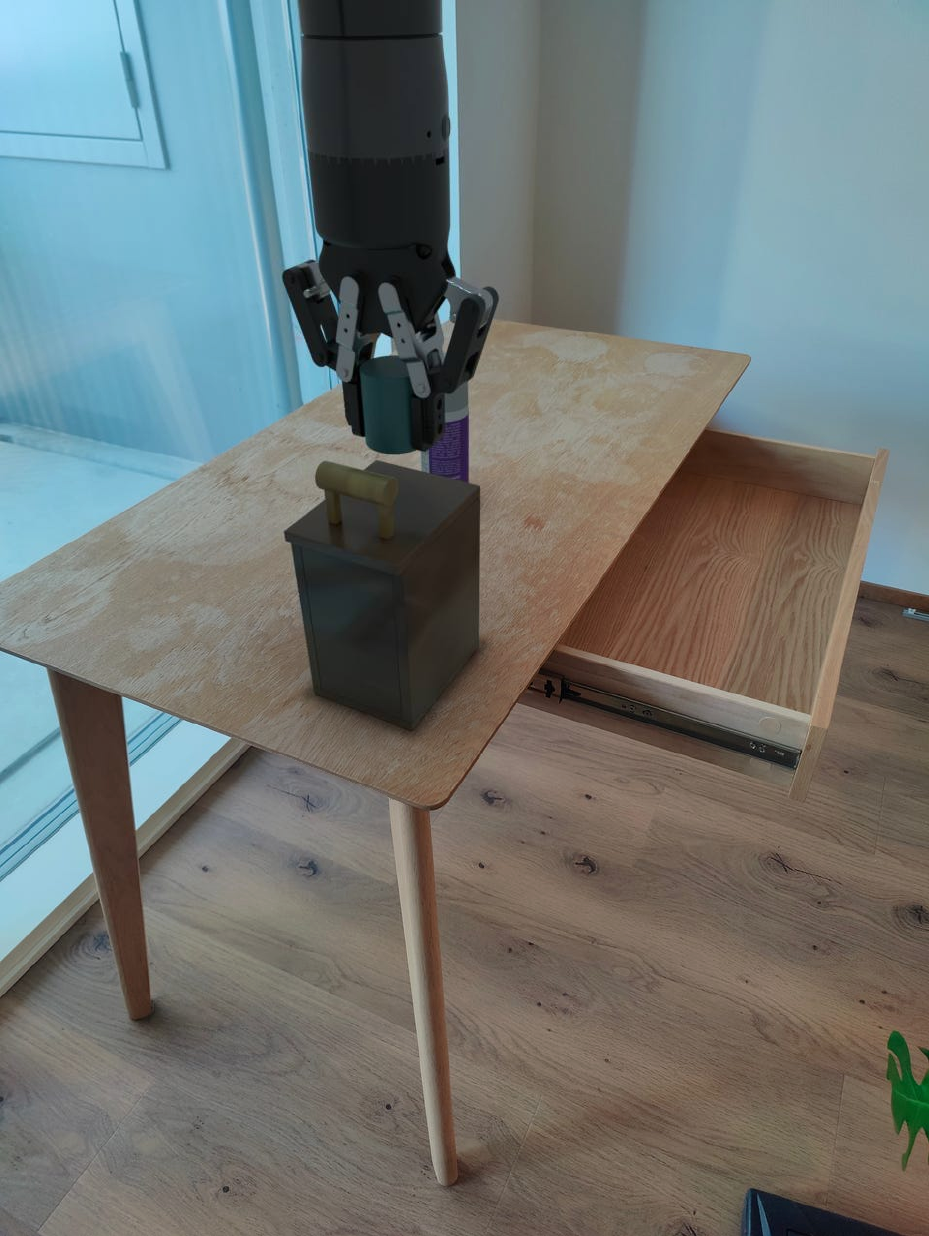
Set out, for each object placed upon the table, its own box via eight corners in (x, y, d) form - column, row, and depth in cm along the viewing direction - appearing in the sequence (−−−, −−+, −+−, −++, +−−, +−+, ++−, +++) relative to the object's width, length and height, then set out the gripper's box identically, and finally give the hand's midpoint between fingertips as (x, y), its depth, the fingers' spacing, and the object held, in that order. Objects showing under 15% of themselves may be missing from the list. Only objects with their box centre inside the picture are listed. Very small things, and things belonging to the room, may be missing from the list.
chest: (412, 731, 60) (402, 572, 51) (313, 693, 63) (289, 537, 54) (479, 647, 67) (480, 496, 59) (388, 617, 70) (376, 469, 62)
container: (477, 501, 86) (478, 358, 76) (452, 522, 82) (450, 374, 73) (439, 490, 88) (436, 348, 78) (413, 509, 84) (407, 364, 75)
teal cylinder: (383, 460, 52) (378, 384, 49) (355, 437, 55) (348, 363, 52) (438, 445, 54) (436, 370, 51) (407, 423, 57) (404, 350, 54)
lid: (398, 576, 51) (393, 504, 48) (285, 541, 54) (273, 472, 51) (480, 495, 59) (480, 429, 56) (376, 469, 62) (371, 405, 59)
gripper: (225, 140, 44) (272, 440, 54) (464, 161, 39) (465, 488, 49) (310, 122, 49) (338, 398, 60) (530, 138, 44) (519, 438, 54)
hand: (395, 437), depth 54 cm, fingers closed on teal cylinder, 4 cm apart
